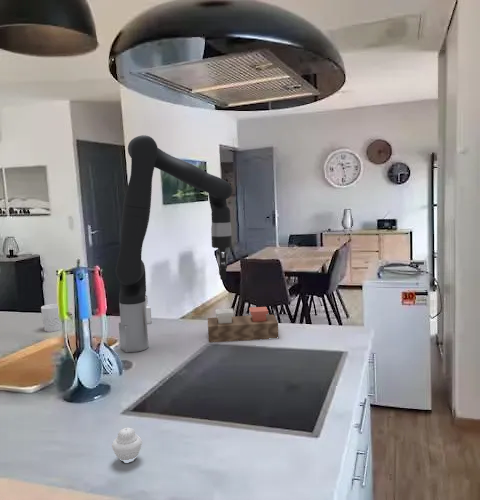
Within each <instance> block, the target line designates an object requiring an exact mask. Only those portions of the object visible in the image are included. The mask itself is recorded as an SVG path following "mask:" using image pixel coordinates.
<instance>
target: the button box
mask: <svg viewBox="0 0 480 500" xmlns="http://www.w3.org/2000/svg"><path fill="white" fill-rule="evenodd" d="M207 333H208V336H207V337H208V338H207V339H208V343H223V342H238V341H239V342H240V341H242V342H243V341H259V340H260V339H262V340H270V339H269V338H277V337H278V338H279V322H278V320H277V318H276V316H275V315H274V314H266V321H260V322H252V315H239V316H238V315H237V316H236V315H234V316H232V323H222V324H218V317H216V316H215V317H207Z"/></svg>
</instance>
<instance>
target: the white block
mask: <svg viewBox="0 0 480 500" xmlns="http://www.w3.org/2000/svg"><path fill="white" fill-rule="evenodd" d="M216 317H218V324H222V323H232V317H235V311H234V308H233V307H231V308H215V318H216Z"/></svg>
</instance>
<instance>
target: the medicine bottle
mask: <svg viewBox="0 0 480 500" xmlns="http://www.w3.org/2000/svg"><path fill="white" fill-rule="evenodd" d="M146 314H147V325H149V324H150V325H151V324H152V322H153V321H152V307H151V306H150V305H149V304H148V295H146Z"/></svg>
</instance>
